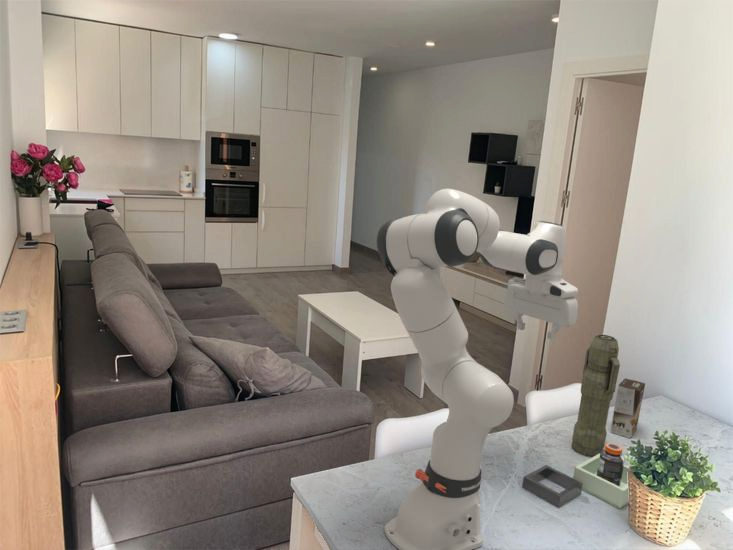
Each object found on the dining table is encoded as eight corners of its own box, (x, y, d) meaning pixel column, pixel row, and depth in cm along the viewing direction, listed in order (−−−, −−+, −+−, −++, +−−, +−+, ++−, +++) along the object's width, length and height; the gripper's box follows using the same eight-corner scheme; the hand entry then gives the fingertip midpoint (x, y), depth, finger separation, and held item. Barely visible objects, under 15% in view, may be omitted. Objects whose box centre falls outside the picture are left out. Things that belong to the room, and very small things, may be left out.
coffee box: (631, 439, 180) (639, 391, 176) (609, 432, 183) (618, 385, 180) (637, 429, 187) (645, 383, 184) (616, 423, 191) (624, 377, 187)
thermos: (591, 462, 163) (611, 345, 156) (561, 442, 174) (579, 331, 166) (613, 457, 167) (634, 342, 160) (583, 438, 177) (601, 330, 170)
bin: (620, 509, 141) (623, 490, 140) (572, 484, 151) (574, 467, 150) (643, 492, 150) (647, 475, 149) (596, 469, 159) (599, 453, 158)
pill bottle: (623, 487, 150) (630, 447, 148) (613, 495, 146) (620, 454, 144) (601, 477, 154) (608, 438, 152) (591, 484, 150) (597, 444, 148)
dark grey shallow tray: (558, 507, 140) (560, 496, 139) (522, 487, 147) (523, 476, 147) (580, 493, 147) (582, 483, 146) (544, 475, 154) (546, 464, 154)
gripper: (502, 276, 156) (496, 325, 159) (571, 293, 141) (562, 347, 144) (516, 274, 160) (509, 322, 163) (584, 291, 145) (576, 343, 148)
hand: (535, 334), depth 153 cm, fingers open, 8 cm apart
